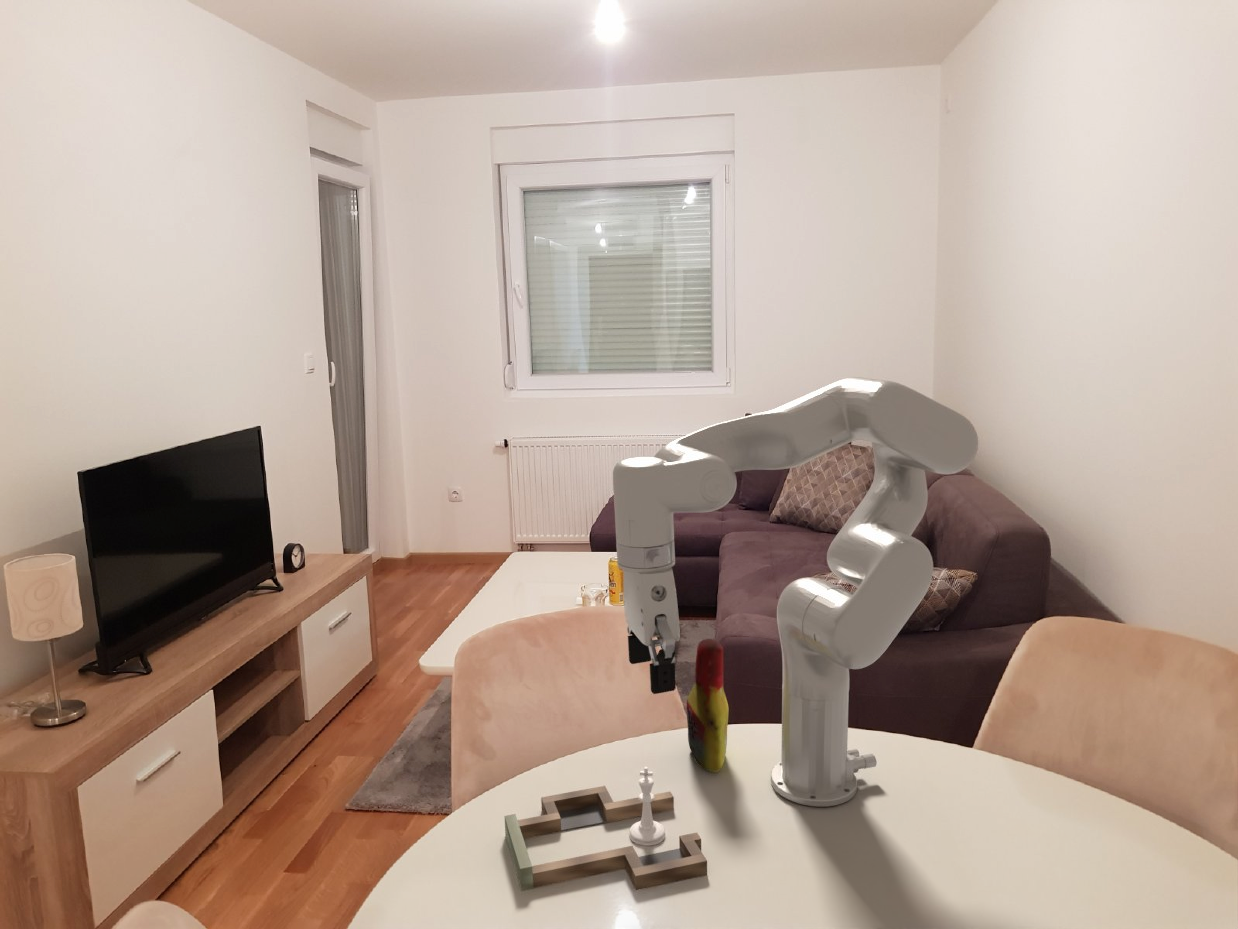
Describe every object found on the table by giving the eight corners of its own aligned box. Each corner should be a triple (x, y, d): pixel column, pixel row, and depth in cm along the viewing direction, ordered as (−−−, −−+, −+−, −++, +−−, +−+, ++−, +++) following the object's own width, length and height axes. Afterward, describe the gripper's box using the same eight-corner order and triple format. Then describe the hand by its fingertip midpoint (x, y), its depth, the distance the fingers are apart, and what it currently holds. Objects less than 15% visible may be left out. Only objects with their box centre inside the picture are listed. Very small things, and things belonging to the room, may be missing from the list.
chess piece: (662, 847, 118) (661, 779, 116) (626, 844, 119) (624, 776, 117) (667, 826, 123) (666, 760, 121) (632, 823, 124) (631, 757, 122)
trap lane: (660, 788, 132) (659, 769, 132) (714, 873, 112) (714, 852, 112) (500, 817, 126) (499, 798, 125) (528, 914, 106) (527, 891, 105)
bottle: (733, 778, 134) (733, 654, 131) (691, 780, 134) (690, 655, 131) (723, 740, 146) (723, 625, 142) (684, 741, 146) (683, 626, 142)
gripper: (696, 568, 107) (701, 699, 111) (652, 533, 124) (657, 647, 127) (637, 576, 106) (644, 709, 109) (600, 539, 122) (607, 656, 125)
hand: (651, 676), depth 118 cm, fingers open, 9 cm apart
